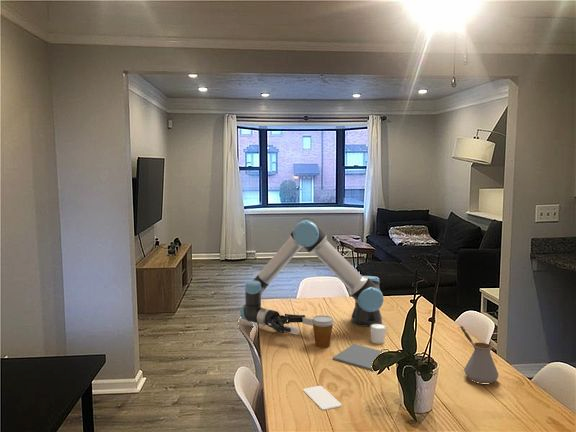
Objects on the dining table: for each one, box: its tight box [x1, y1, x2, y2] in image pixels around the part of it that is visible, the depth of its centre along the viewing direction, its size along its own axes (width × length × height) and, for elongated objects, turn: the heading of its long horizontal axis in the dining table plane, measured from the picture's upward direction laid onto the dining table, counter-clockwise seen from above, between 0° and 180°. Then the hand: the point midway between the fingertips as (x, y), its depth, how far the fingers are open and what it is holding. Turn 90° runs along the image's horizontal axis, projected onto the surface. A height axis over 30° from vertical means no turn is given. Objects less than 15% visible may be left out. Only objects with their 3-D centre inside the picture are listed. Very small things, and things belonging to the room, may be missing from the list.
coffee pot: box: [457, 325, 500, 384], centre depth 170 cm, size 21×12×15 cm, turn 8°
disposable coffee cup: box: [312, 314, 335, 349], centre depth 196 cm, size 10×10×12 cm
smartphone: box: [303, 385, 342, 411], centre depth 152 cm, size 7×1×15 cm
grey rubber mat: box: [332, 343, 385, 371], centre depth 184 cm, size 18×18×1 cm
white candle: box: [369, 323, 387, 345], centre depth 202 cm, size 7×7×7 cm
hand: (306, 327), depth 201 cm, fingers open, 13 cm apart
